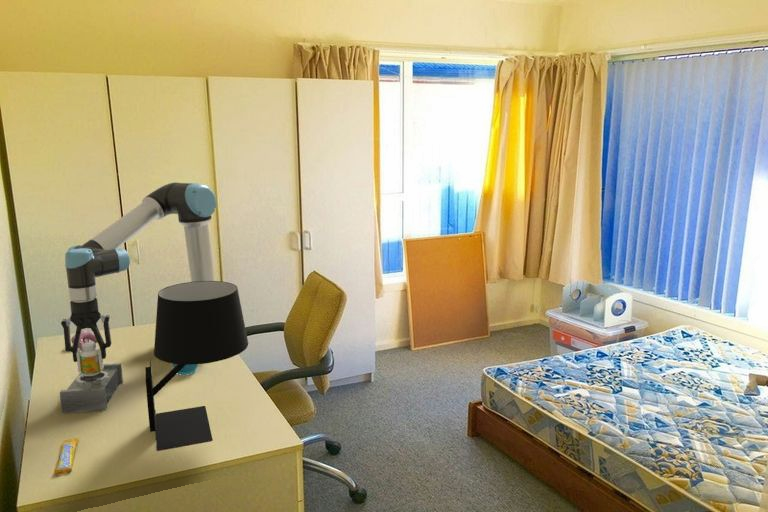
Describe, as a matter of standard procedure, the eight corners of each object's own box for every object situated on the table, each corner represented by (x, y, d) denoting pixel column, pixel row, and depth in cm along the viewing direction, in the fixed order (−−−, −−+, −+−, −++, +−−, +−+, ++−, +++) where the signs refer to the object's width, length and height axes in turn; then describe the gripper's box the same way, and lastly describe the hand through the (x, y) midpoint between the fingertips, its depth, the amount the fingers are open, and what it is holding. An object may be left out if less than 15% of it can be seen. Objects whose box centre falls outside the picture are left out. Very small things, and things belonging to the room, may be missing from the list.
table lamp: (150, 412, 176) (139, 284, 167) (244, 397, 186) (238, 276, 178) (150, 455, 153) (137, 309, 144) (258, 435, 163) (252, 297, 154)
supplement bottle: (78, 376, 182) (75, 347, 180) (88, 369, 187) (84, 341, 185) (95, 376, 182) (92, 347, 179) (104, 370, 187) (101, 341, 185)
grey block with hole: (123, 382, 197) (121, 362, 195) (106, 410, 177) (104, 388, 176) (83, 385, 195) (81, 365, 193) (62, 413, 175) (59, 392, 174)
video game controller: (91, 344, 236) (82, 329, 235) (100, 340, 235) (91, 325, 234) (76, 353, 226) (66, 338, 225) (85, 349, 225) (75, 333, 224)
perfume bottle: (179, 379, 200) (175, 337, 196) (168, 370, 206) (165, 330, 203) (204, 371, 206) (201, 331, 202) (193, 364, 212) (190, 325, 209)
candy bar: (72, 475, 145) (71, 468, 144) (53, 478, 143) (52, 471, 143) (80, 442, 160) (79, 436, 159) (63, 445, 158) (62, 439, 158)
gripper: (117, 293, 186) (124, 361, 190) (52, 298, 180) (60, 368, 185) (114, 299, 179) (121, 370, 183) (47, 305, 173) (56, 378, 178)
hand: (91, 369), depth 184 cm, fingers closed on supplement bottle, 5 cm apart
